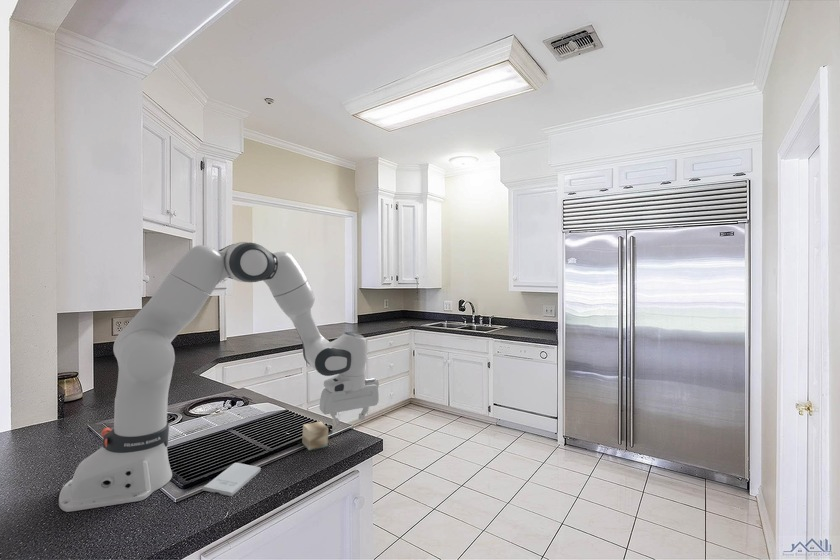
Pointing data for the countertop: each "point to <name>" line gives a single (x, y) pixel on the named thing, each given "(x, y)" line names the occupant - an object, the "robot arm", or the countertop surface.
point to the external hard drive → (232, 479)
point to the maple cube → (315, 435)
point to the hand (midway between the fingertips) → (348, 421)
